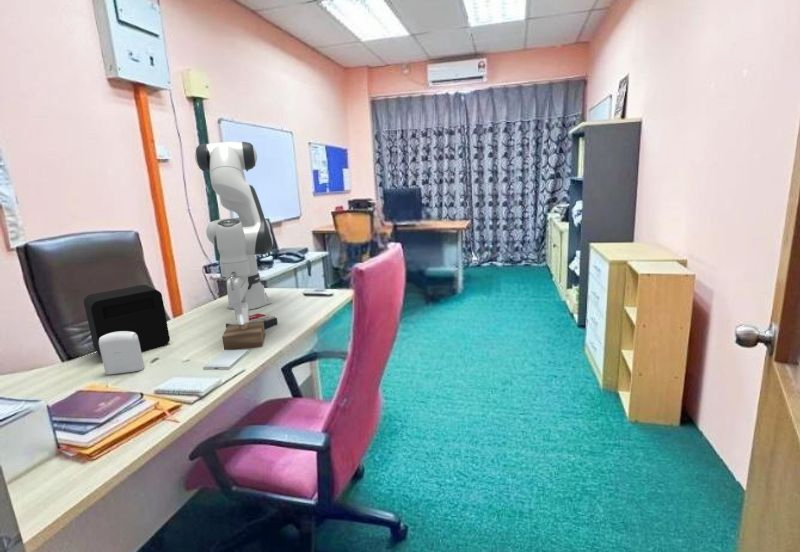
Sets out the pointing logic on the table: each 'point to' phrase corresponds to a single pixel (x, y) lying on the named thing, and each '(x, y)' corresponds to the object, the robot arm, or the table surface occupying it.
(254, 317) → the book
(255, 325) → the walnut base
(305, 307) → the table surface
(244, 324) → the milkshake
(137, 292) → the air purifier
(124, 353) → the photo printer
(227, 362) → the hard drive
